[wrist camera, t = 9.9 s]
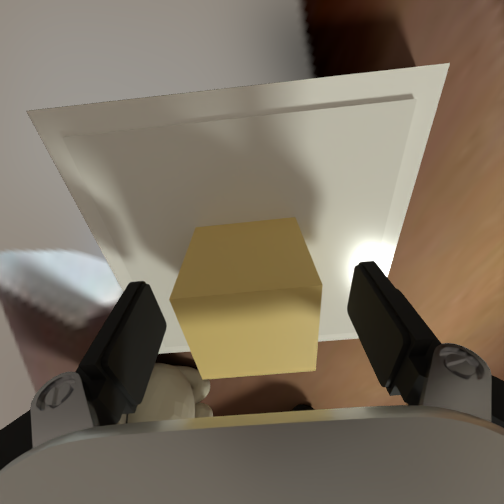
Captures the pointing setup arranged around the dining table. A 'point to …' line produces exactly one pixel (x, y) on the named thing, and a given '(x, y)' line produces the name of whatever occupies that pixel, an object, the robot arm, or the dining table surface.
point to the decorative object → (172, 396)
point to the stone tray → (249, 173)
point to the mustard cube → (249, 299)
